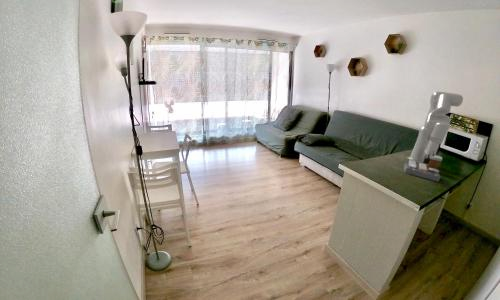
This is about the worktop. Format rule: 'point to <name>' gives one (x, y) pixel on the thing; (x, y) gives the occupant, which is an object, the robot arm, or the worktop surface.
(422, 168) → the block
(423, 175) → the rocker switch panel
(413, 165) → the block
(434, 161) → the disposable coffee cup
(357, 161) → the worktop surface
